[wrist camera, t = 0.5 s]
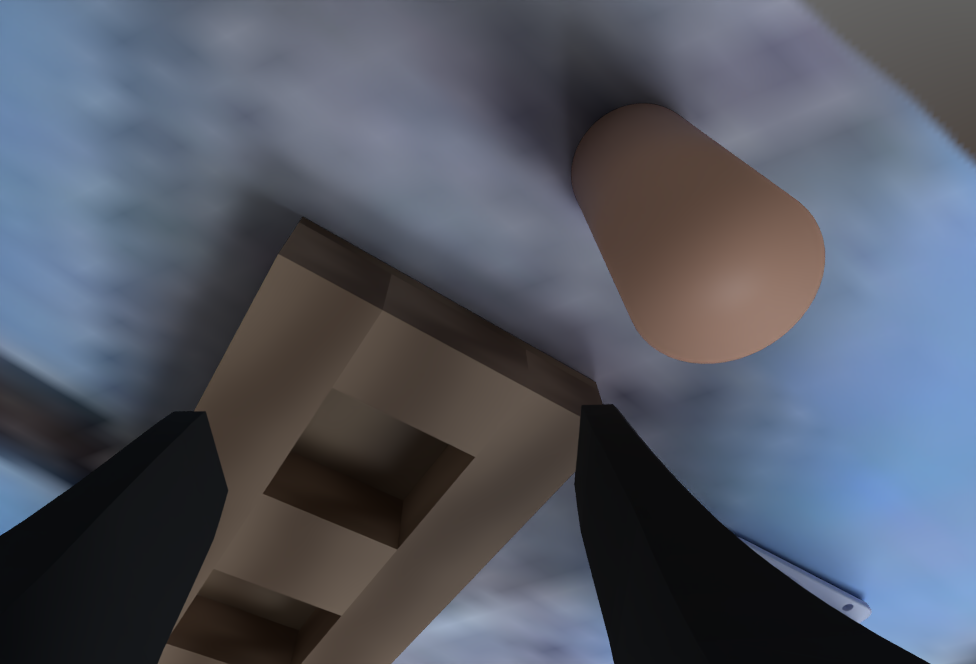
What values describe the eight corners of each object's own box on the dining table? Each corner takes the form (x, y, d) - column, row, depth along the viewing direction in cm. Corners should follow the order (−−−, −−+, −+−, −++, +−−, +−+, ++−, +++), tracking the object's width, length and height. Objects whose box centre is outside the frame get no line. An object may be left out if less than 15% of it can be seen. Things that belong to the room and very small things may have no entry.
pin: (726, 151, 19) (867, 254, 13) (641, 252, 21) (726, 392, 14) (627, 75, 18) (722, 142, 11) (545, 188, 20) (586, 307, 13)
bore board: (595, 382, 24) (611, 433, 21) (332, 676, 33) (320, 737, 30) (302, 216, 20) (278, 253, 18) (97, 597, 29) (61, 659, 27)
